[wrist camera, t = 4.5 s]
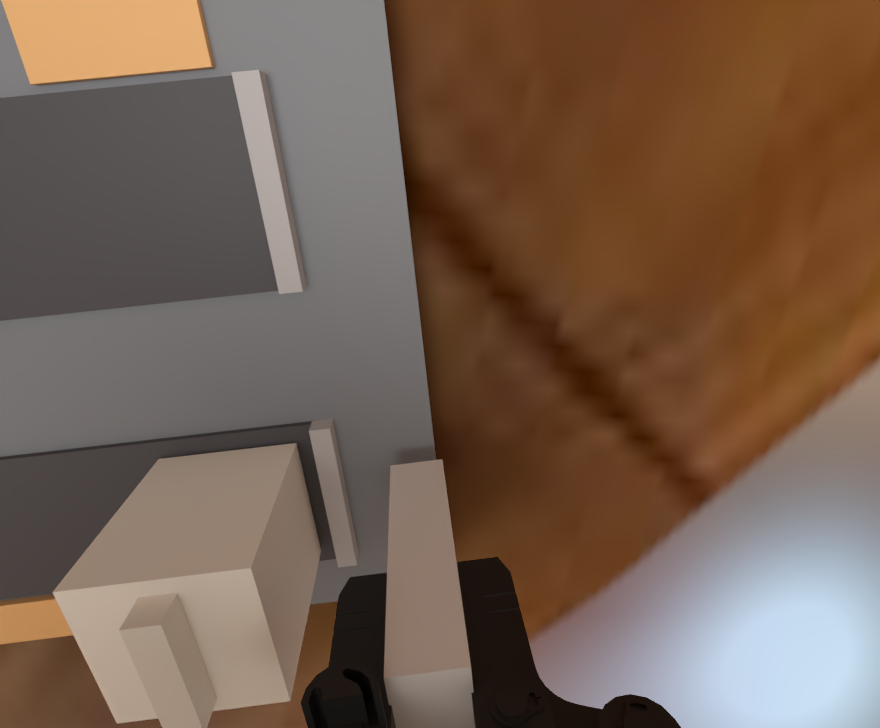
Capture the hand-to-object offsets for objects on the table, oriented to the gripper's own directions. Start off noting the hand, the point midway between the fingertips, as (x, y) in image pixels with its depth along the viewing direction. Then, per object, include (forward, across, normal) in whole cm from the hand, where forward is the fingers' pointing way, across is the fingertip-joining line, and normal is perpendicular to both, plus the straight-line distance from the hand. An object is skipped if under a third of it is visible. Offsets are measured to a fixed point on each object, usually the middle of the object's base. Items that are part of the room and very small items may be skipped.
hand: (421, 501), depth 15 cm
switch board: (+3, -9, +4) cm, 11 cm away
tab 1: (+1, -5, 0) cm, 5 cm away
